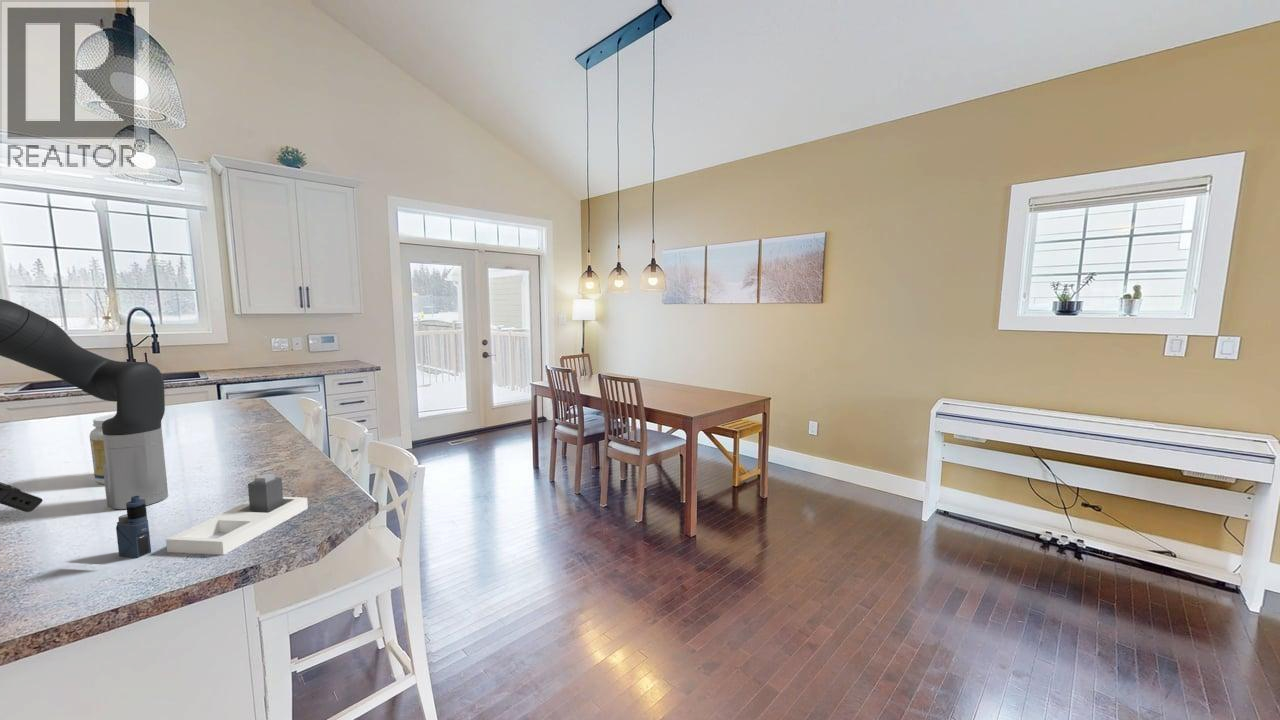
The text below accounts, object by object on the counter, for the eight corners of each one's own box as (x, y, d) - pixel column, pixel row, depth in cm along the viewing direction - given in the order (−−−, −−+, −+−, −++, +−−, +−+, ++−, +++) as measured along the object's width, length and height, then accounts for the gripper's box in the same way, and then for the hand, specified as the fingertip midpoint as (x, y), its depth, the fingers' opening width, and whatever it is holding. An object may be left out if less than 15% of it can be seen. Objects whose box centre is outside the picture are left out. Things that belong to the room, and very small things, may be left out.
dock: (224, 559, 84) (222, 541, 84) (167, 557, 85) (165, 539, 85) (308, 512, 104) (307, 497, 104) (261, 510, 105) (260, 495, 105)
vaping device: (138, 564, 83) (131, 500, 81) (116, 560, 84) (109, 497, 82) (155, 556, 85) (149, 494, 84) (134, 553, 86) (127, 491, 85)
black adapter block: (250, 519, 98) (247, 479, 97) (266, 511, 102) (263, 472, 101) (268, 520, 98) (265, 479, 97) (284, 512, 102) (281, 473, 101)
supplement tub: (154, 466, 132) (148, 409, 130) (169, 475, 126) (163, 414, 124) (89, 479, 121) (81, 417, 120) (101, 489, 115) (94, 423, 114)
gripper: (-176, 467, 61) (-18, 515, 73) (-149, 484, 56) (17, 533, 67) (-107, 419, 65) (32, 472, 77) (-76, 431, 60) (69, 486, 72)
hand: (25, 500), depth 72 cm, fingers open, 8 cm apart
